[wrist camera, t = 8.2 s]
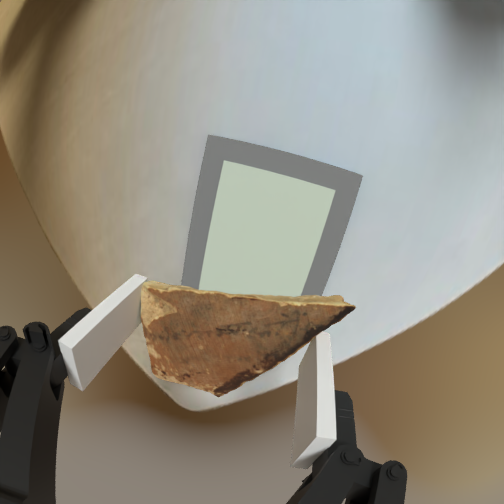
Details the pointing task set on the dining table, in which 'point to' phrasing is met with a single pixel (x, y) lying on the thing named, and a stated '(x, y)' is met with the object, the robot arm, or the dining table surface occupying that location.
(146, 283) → the shard
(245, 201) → the mat
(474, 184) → the dining table surface
